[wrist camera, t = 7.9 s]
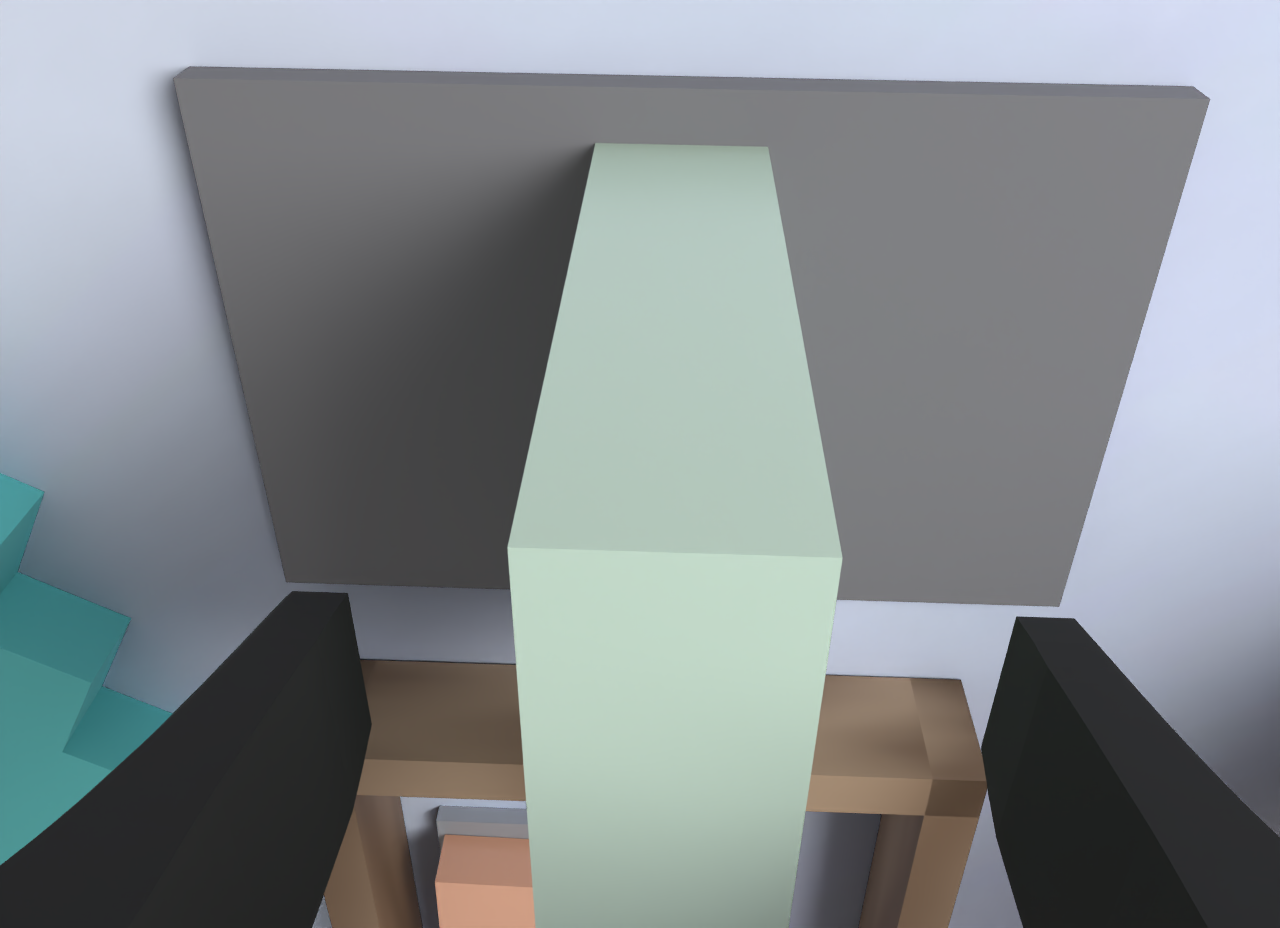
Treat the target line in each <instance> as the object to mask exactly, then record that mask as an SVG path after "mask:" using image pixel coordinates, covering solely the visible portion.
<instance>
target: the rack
mask: <svg viewBox="0 0 1280 928" xmlns="http://www.w3.org/2000/svg"><path fill="white" fill-rule="evenodd" d="M360 662H361V668H362V673H363V679H364V684H365V690H366V695H367V700H368V706H369V711H370V717H371V722H372V726H371V731H370V736H369V741H368V745H367V750H366V755H365V760H364V765H363V769H362V774H361V778H360V782H359V787H358V791H357V795H356V800H355V804H354V808H353V812H352V815H351V818H350V821H349V824H348V827H347V830H346V833H345V835H344V838H343V841H342V844H341V847H340V850H339V853H338V856H337V858H336V861H335V864H334V867H333V870H332V873H331V876H330V878H329V881H328V884H327V887H326V890H325V892H324V897H325V901H326V905H327V909H328V913H329V917H330V921H331V925H332V928H423V927H422V922H421V916H420V910H419V904H418V898H417V893H416V887H415V881H414V875H413V870H412V864H411V858H410V852H409V846H408V841H407V835H406V829H405V823H404V818H403V812H402V806H401V800H400V796H401V797H429V798H456V799H484V800H511V801H526V792H525V778H524V765H523V751H522V738H521V724H520V711H519V697H518V683H517V670H516V665H502V664H472V663H442V662H412V661H382V660H360ZM986 792H987V782H986V776H985V770H984V763H983V757H982V753H981V750H980V746H979V743H978V739H977V735H976V732H975V728H974V725H973V721H972V718H971V714H970V711H969V707H968V703H967V700H966V696H965V693H964V689H963V686H962V682H961V680H953V679H923V678H893V677H863V676H833V675H825V682H824V689H823V695H822V702H821V709H820V716H819V723H818V730H817V736H816V743H815V750H814V757H813V764H812V771H811V778H810V784H809V791H808V798H807V805H806V811H814V812H841V813H868V814H882V816H881V821H880V825H879V830H878V835H877V840H876V845H875V850H874V854H873V859H872V864H871V869H870V874H869V879H868V884H867V888H866V893H865V898H864V903H863V908H862V913H861V918H860V922H859V927H858V928H948V925H949V922H950V918H951V915H952V911H953V908H954V904H955V901H956V897H957V894H958V890H959V887H960V883H961V880H962V876H963V873H964V869H965V865H966V862H967V858H968V855H969V851H970V848H971V844H972V841H973V837H974V834H975V830H976V827H977V823H978V820H979V816H980V813H981V809H982V806H983V802H984V799H985V795H986Z"/></svg>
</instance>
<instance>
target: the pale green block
mask: <svg viewBox="0 0 1280 928" xmlns="http://www.w3.org/2000/svg"><path fill="white" fill-rule="evenodd" d="M507 548H508V562H509V575H510V589H511V602H512V616H513V629H514V643H515V656H516V670H517V683H518V697H519V711H520V724H521V738H522V751H523V765H524V778H525V792H526V805H527V819H528V832H529V846H530V859H531V873H532V886H533V900H534V914H535V927H536V928H789V921H790V914H791V907H792V901H793V894H794V887H795V880H796V873H797V866H798V860H799V853H800V846H801V839H802V832H803V825H804V819H805V812H806V805H807V798H808V791H809V784H810V778H811V771H812V764H813V757H814V750H815V743H816V736H817V730H818V723H819V716H820V709H821V702H822V695H823V689H824V682H825V675H826V668H827V661H828V654H829V648H830V641H831V634H832V627H833V620H834V613H835V607H836V600H837V593H838V586H839V579H840V572H841V565H842V559H843V557H842V552H841V546H840V541H839V535H838V530H837V524H836V519H835V513H834V508H833V502H832V497H831V491H830V486H829V480H828V474H827V469H826V463H825V458H824V452H823V447H822V441H821V436H820V430H819V425H818V419H817V414H816V408H815V403H814V397H813V392H812V386H811V381H810V375H809V370H808V364H807V359H806V353H805V348H804V342H803V337H802V331H801V326H800V320H799V315H798V309H797V304H796V298H795V292H794V287H793V281H792V276H791V270H790V265H789V259H788V254H787V248H786V243H785V237H784V232H783V226H782V221H781V215H780V210H779V204H778V199H777V193H776V188H775V182H774V177H773V171H772V166H771V160H770V155H769V149H768V147H754V146H708V145H663V144H617V143H595V147H594V152H593V156H592V161H591V166H590V170H589V175H588V179H587V184H586V189H585V193H584V198H583V202H582V207H581V212H580V216H579V221H578V225H577V230H576V235H575V239H574V244H573V248H572V253H571V258H570V262H569V267H568V271H567V276H566V281H565V285H564V290H563V294H562V299H561V304H560V308H559V313H558V317H557V322H556V327H555V331H554V336H553V340H552V345H551V350H550V354H549V359H548V363H547V368H546V373H545V377H544V382H543V386H542V391H541V396H540V400H539V405H538V409H537V414H536V418H535V423H534V428H533V432H532V437H531V441H530V446H529V451H528V455H527V460H526V464H525V469H524V474H523V478H522V483H521V487H520V492H519V497H518V501H517V506H516V510H515V515H514V520H513V524H512V529H511V533H510V538H509V543H508V547H507Z"/></svg>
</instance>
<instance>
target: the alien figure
mask: <svg viewBox="0 0 1280 928" xmlns="http://www.w3.org/2000/svg"><path fill="white" fill-rule="evenodd" d="M43 495H44V492H43V491H41V490H39V489H36V488H34V487H32V486H29V485H27V484H25V483H22V482H20V481H18V480H15V479H13V478H11V477H8V476H6V475H4V474H1V473H0V865H1V864H2V863H4V862H5V861H6V860H7V859H9V858H10V857H11V856H13V855H14V854H15V853H16V852H18V851H19V850H20V849H21V848H23V847H24V846H25V845H27V844H28V843H29V842H30V841H32V840H33V839H34V838H35V837H36V836H38V835H39V834H40V833H41V832H43V831H44V830H45V829H46V828H47V827H49V826H50V825H51V824H52V823H53V822H55V821H56V820H57V819H58V818H59V817H61V816H62V815H63V814H64V813H65V812H66V811H68V810H69V809H70V808H71V807H72V806H74V805H75V804H76V803H77V802H78V801H79V800H80V799H82V798H83V797H84V796H85V795H86V794H87V793H88V792H89V791H90V790H92V789H93V788H94V787H95V786H96V785H97V784H98V783H99V782H100V781H101V780H103V779H104V778H105V777H106V776H107V775H108V774H109V773H110V772H111V771H112V770H114V769H115V768H116V767H117V766H118V765H119V764H120V763H121V762H122V761H123V760H125V759H126V758H127V757H128V756H129V755H130V754H131V753H132V752H133V751H134V750H136V749H137V748H138V747H139V746H140V745H141V744H142V743H143V742H144V741H145V740H146V739H147V738H148V737H149V736H150V735H152V734H153V733H154V732H155V731H156V730H157V729H158V728H159V727H160V726H161V725H162V724H163V723H164V722H165V721H166V720H167V719H168V718H169V717H170V716H171V715H172V713H170V712H167V711H165V710H162V709H159V708H157V707H154V706H152V705H149V704H147V703H144V702H141V701H139V700H136V699H134V698H131V697H129V696H126V695H123V694H121V693H118V692H116V691H113V690H110V689H108V688H105V687H103V686H102V685H103V683H104V680H105V678H106V676H107V673H108V671H109V669H110V666H111V664H112V662H113V660H114V657H115V655H116V653H117V650H118V648H119V646H120V643H121V641H122V639H123V636H124V634H125V632H126V629H127V627H128V625H129V622H130V620H131V618H129V617H127V616H124V615H122V614H119V613H117V612H115V611H112V610H110V609H107V608H105V607H102V606H100V605H97V604H95V603H92V602H90V601H87V600H85V599H83V598H80V597H78V596H75V595H73V594H70V593H68V592H65V591H63V590H60V589H58V588H55V587H53V586H51V585H48V584H46V583H43V582H41V581H38V580H36V579H33V578H31V577H28V576H26V575H23V574H21V573H19V572H18V569H19V566H20V563H21V560H22V557H23V554H24V551H25V548H26V545H27V542H28V539H29V536H30V533H31V530H32V527H33V524H34V521H35V519H36V516H37V513H38V510H39V507H40V504H41V501H42V498H43Z"/></svg>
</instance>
